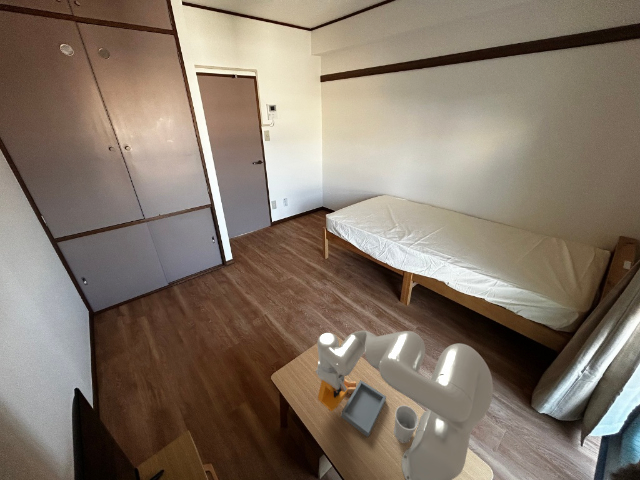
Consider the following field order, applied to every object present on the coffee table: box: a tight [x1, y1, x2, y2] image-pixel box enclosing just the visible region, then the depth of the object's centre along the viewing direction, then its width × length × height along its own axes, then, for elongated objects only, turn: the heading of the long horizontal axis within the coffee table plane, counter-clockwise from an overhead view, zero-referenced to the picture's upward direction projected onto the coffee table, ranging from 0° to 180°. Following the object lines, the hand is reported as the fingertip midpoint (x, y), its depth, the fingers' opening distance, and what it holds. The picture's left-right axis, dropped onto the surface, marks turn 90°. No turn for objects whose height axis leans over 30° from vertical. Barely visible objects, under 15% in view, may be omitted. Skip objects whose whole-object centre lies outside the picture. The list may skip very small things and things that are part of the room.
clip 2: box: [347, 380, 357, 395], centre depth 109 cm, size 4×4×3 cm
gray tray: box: [340, 379, 387, 438], centre depth 102 cm, size 12×16×4 cm
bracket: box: [317, 380, 348, 412], centre depth 98 cm, size 11×7×12 cm, turn 138°
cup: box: [393, 404, 420, 444], centre depth 92 cm, size 8×8×12 cm
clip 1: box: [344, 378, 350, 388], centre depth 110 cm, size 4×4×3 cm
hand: (331, 390), depth 100 cm, fingers closed on bracket, 4 cm apart
